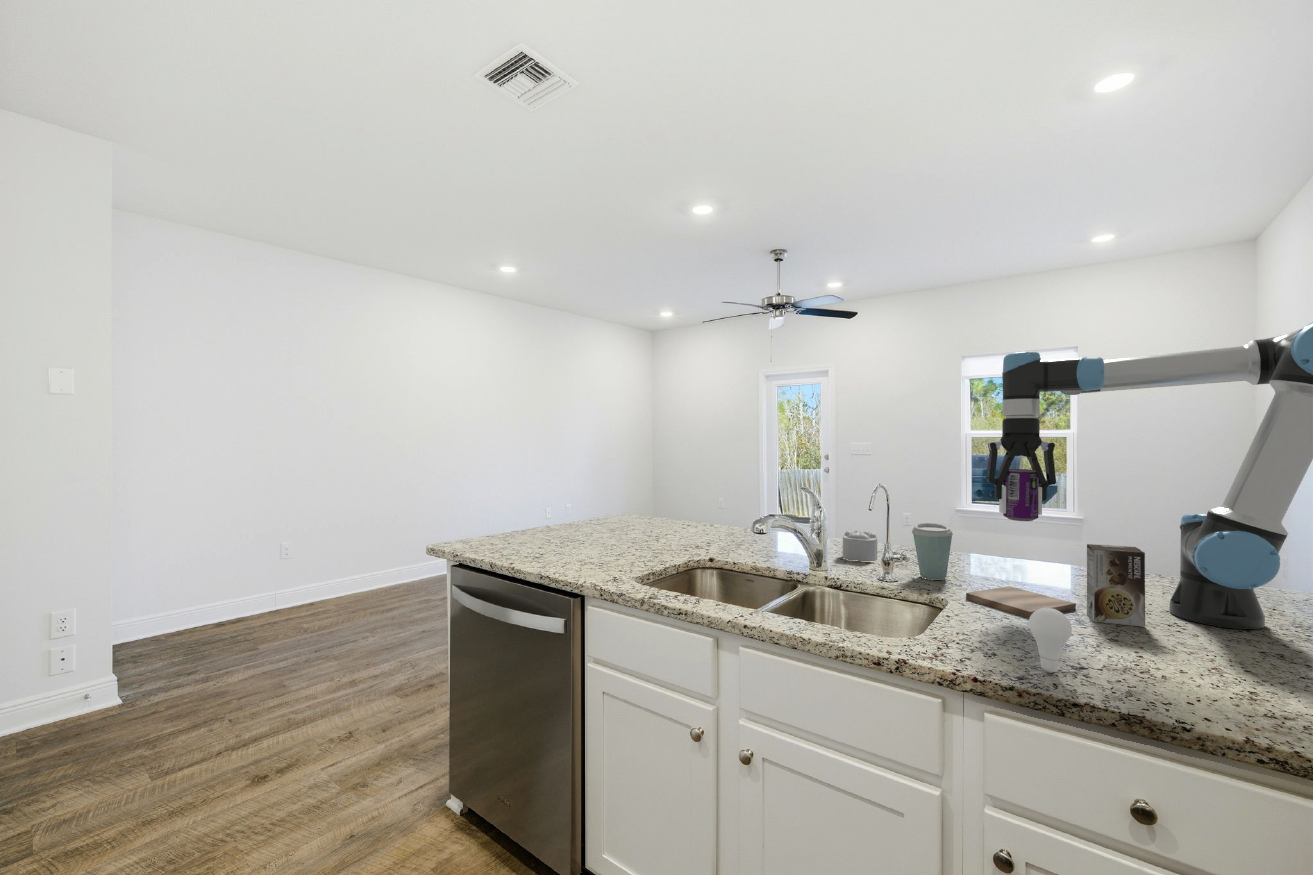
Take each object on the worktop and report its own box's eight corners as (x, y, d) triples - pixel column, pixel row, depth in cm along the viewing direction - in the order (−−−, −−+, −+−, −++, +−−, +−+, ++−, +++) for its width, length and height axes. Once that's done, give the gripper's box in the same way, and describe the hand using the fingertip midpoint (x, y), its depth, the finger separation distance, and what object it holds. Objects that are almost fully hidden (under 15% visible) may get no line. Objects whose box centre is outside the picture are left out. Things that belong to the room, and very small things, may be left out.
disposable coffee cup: (959, 583, 155) (959, 529, 155) (917, 582, 157) (917, 527, 157) (945, 574, 166) (945, 522, 165) (906, 572, 167) (906, 521, 167)
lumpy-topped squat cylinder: (840, 560, 184) (840, 533, 184) (847, 552, 195) (847, 527, 195) (874, 563, 179) (874, 536, 179) (879, 555, 191) (879, 530, 191)
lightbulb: (1020, 665, 101) (1020, 603, 101) (1052, 664, 102) (1052, 602, 101) (1046, 680, 95) (1046, 614, 95) (1080, 679, 95) (1081, 613, 95)
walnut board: (1075, 609, 133) (1075, 603, 133) (1030, 618, 126) (1030, 611, 126) (1009, 591, 147) (1009, 586, 147) (965, 598, 141) (966, 592, 141)
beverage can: (1043, 522, 132) (1044, 470, 132) (1010, 521, 134) (1010, 470, 134) (1030, 517, 139) (1030, 468, 139) (998, 517, 141) (998, 468, 141)
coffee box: (1135, 619, 126) (1136, 546, 126) (1146, 628, 120) (1146, 552, 120) (1085, 613, 130) (1086, 543, 130) (1093, 621, 124) (1093, 548, 124)
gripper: (1062, 417, 137) (1061, 512, 137) (971, 418, 143) (970, 509, 143) (1075, 416, 130) (1074, 517, 130) (978, 417, 136) (978, 513, 136)
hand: (1020, 513), depth 137 cm, fingers closed on beverage can, 7 cm apart
